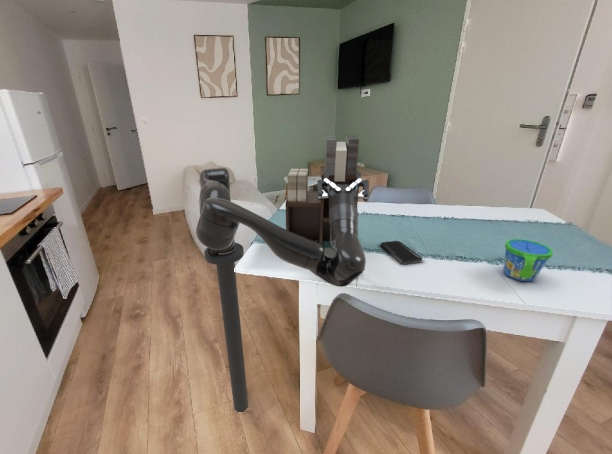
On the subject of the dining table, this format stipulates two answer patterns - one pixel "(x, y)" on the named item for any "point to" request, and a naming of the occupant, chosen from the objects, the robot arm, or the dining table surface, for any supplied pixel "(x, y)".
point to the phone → (401, 252)
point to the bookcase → (305, 205)
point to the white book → (340, 161)
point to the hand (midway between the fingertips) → (341, 172)
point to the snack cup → (525, 259)
